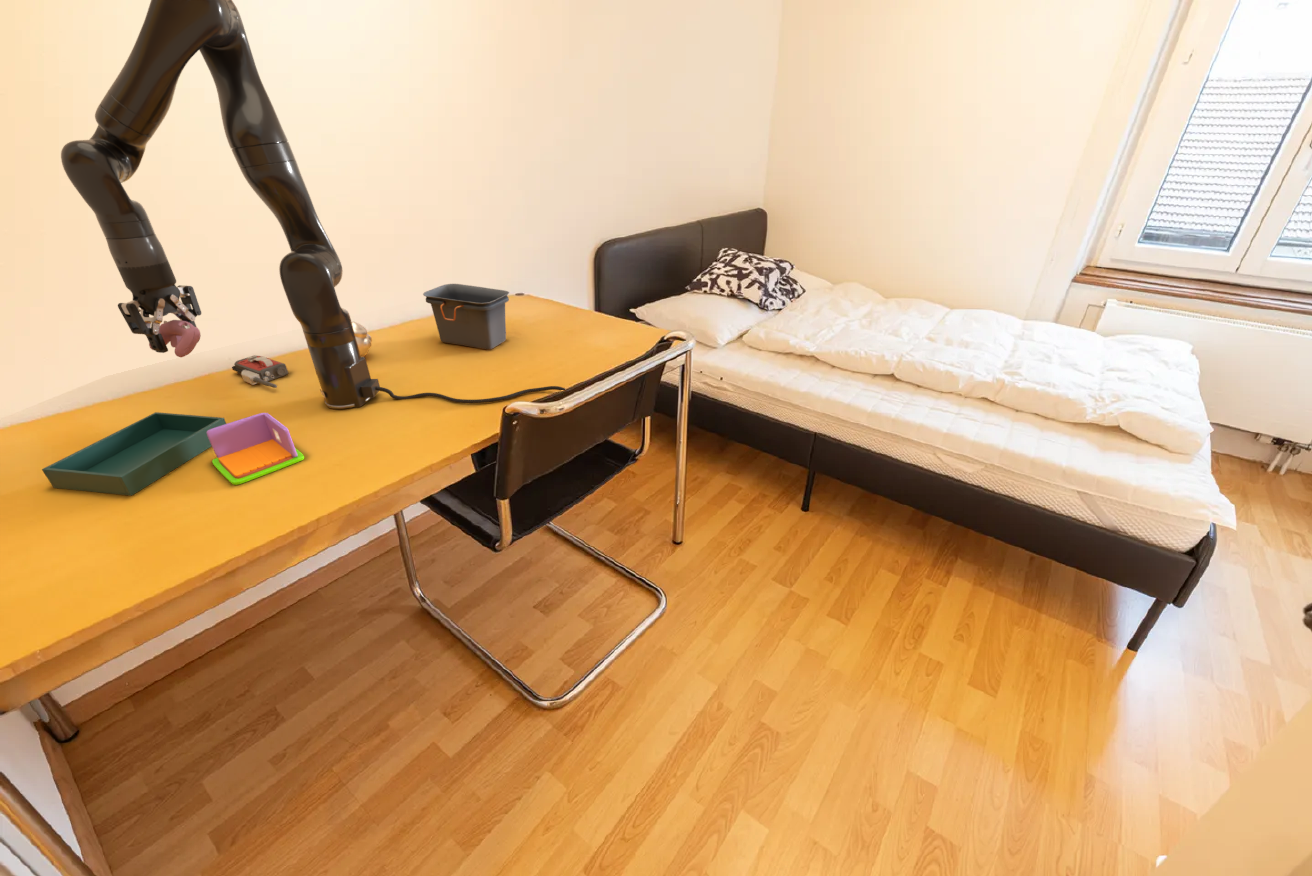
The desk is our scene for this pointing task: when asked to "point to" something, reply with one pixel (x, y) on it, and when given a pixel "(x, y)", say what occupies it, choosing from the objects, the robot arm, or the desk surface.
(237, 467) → the dollhouse room
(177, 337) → the video game controller
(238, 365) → the walkie-talkie
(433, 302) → the storage bin
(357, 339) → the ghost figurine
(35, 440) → the desk surface
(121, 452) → the tray
